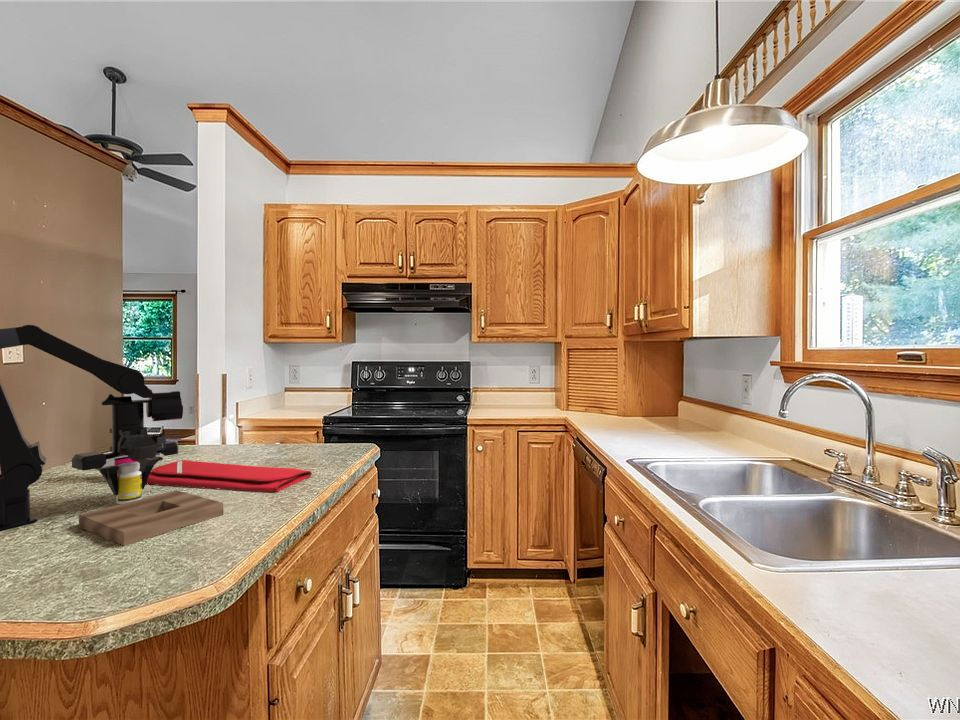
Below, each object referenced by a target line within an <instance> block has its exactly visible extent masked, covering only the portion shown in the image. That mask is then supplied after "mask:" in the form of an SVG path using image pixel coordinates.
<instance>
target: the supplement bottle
mask: <svg viewBox="0 0 960 720" xmlns="http://www.w3.org/2000/svg"><path fill="white" fill-rule="evenodd" d="M118 466H119V468H118V472H119V473H118V474H117V477H118V488H119V489H118V495H115V502H116V504H117V505H119V504H123V503H128V502H132V501H136V500H140V499H143V489H142V473H141V471H139V469H140V463H138V462H131V463H124V464H120V465H118Z"/></svg>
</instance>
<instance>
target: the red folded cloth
mask: <svg viewBox="0 0 960 720" xmlns="http://www.w3.org/2000/svg"><path fill="white" fill-rule="evenodd" d="M312 474H313V473H312V471H310V470H306V469H305V470H304V469H299V468H290V467H273V466H272V467H271V466H254V465H243V464H235V463H232V464H230V463H218V462H209V461H197V460H195V461H194V460H187V459H182V460H178V461H173V462H169V463H166V464H163V465H159V466H156V467H153V468H152V470H151V472H150V475H149V477H148V480H147V482H146V483H149V484H148V485H154V484H159V485H158V486H166V485H173V486H172V487H180V486H190V487H189V488H195V487H205V488H204V489H208V488H220V489H219V490H223V489H234V490H233V491H241V490H245V491H244V492H257V491H260V492H261V493H275V492H277V493H280V492H281V491H283V490H285V489H287V488H289V487H291V485H292V486H293V484H294V485H296V484H298V483H301V482H302V481H304V479H305V480H307V479H309V478H311V476H312ZM295 483H296V484H295ZM284 488H285V489H284ZM280 490H281V491H280Z"/></svg>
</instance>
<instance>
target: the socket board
mask: <svg viewBox="0 0 960 720" xmlns="http://www.w3.org/2000/svg"><path fill="white" fill-rule="evenodd" d="M220 515H221V516H223V515H224V502H223V501H218V500H215V499H214V500H213V499H210V498H207V497H203V496H199V495H197V494H196V495H195V494H191V493H188V492H184V491H181V490H173V491H172V490H171V491H168V492H164V493H160V494H156V495H152V496H149V497H145V498H144V497H143V498H142V499H140V500H136V501H132V502H128V503H123V504H116V505H111V506H109V507H104V508H100V509H95V510H91V511H88V512H84V513H80V514H78V528H80V529H82V528H83V530H84V529H85V531H87V532H89V531H90V532H89V533H91V532H92V534H94V533H95V534H94V535H96V534H97V536H99V537H101V536H102V538H103V537H104V538H103V539H106V538H107V539H106V540H108V539H109V541H111V542H113V541H114V542H113V543H115V542H116V543H115V544H118V545H120V544H121V546H122V545H123V547H125V545H126V546H129V545H131V544H135V543H137V542H138V543H139V542H142V541H145V540H148V539H151V538H153V536H154V537H157V536H160V535H159V534H161V535H163V534H162V533H164V534H166V533H165V532H167V533H169V531H170V532H172V530H173V531H176V530H179V529H178V528H180V529H182V528H181V527H183V528H185V527H184V526H186V527H189V526H192V525H195V524H198V523H201V522H200V521H202V522H204V520H205V521H208V520H210V518H211V519H214V518H217V517H221V516H220ZM207 519H208V520H207ZM197 522H198V523H197ZM194 523H195V524H194ZM191 524H192V525H191ZM188 525H189V526H188ZM175 529H176V530H175ZM156 535H157V536H156ZM150 537H151V538H150ZM147 538H148V539H147ZM144 539H145V540H144ZM128 544H129V545H128Z"/></svg>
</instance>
